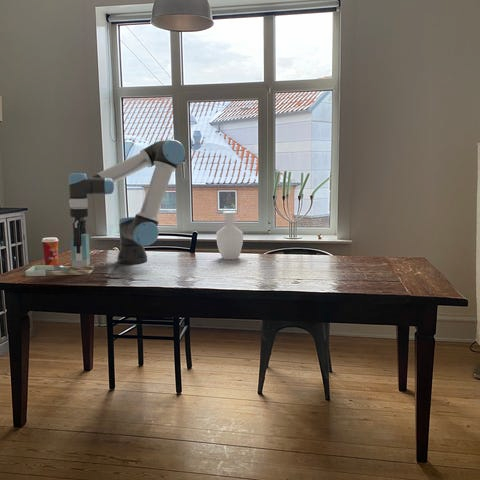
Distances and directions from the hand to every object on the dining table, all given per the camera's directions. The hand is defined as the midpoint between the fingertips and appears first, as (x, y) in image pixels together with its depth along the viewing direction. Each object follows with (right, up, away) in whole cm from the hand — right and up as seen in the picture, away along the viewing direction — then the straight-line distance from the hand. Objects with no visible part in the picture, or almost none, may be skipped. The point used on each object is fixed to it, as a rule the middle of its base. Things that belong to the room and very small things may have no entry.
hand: (81, 258), depth 204 cm
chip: (-11, -6, +2) cm, 13 cm away
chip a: (-7, -6, -2) cm, 9 cm away
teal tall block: (0, -3, 0) cm, 3 cm away
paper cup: (-21, -5, +17) cm, 27 cm away
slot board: (-5, -7, +1) cm, 8 cm away
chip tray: (-18, -7, -1) cm, 20 cm away
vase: (+67, -1, +37) cm, 77 cm away
